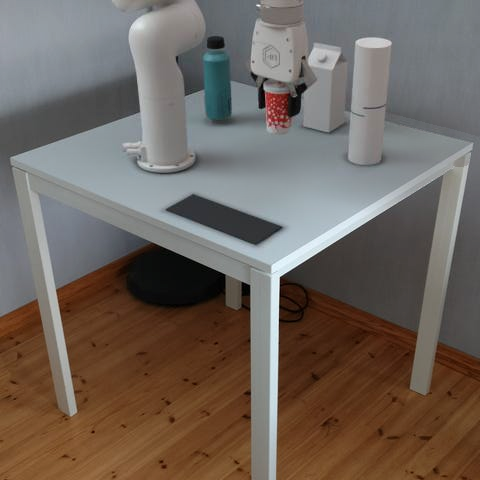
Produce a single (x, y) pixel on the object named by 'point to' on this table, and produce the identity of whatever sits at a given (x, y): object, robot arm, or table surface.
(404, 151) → the table surface
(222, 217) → the mat
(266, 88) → the beverage cup
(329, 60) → the milk carton
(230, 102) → the beverage bottle
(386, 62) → the cylindrical container
